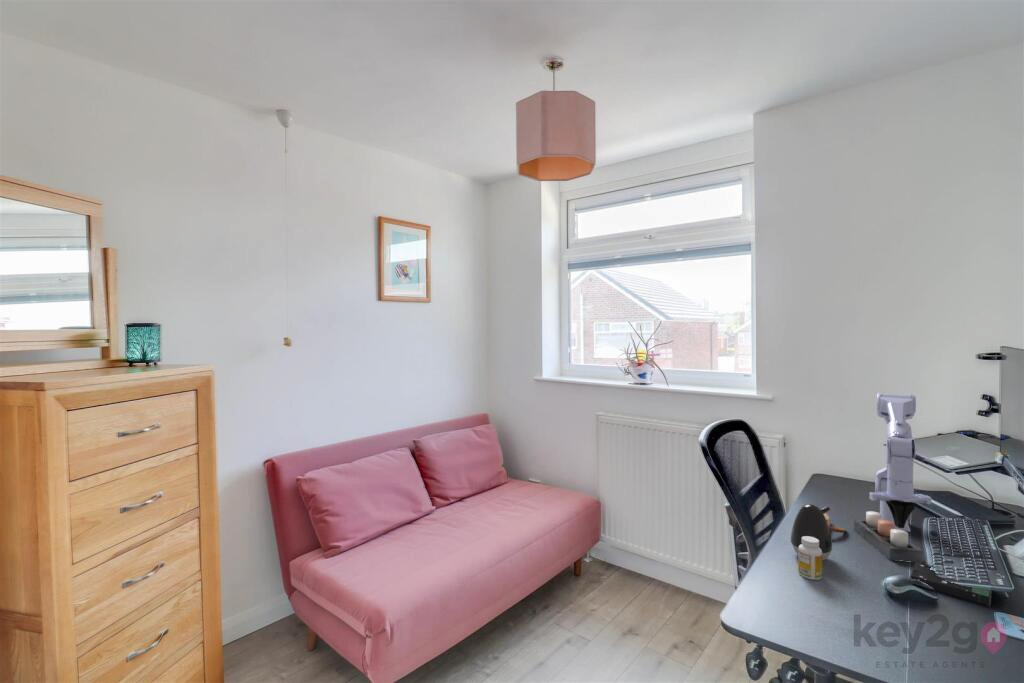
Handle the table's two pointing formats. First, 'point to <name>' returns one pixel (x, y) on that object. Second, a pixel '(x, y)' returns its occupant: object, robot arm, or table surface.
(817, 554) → the supplement bottle
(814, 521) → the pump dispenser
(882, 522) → the brown egg
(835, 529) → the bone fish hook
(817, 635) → the table surface
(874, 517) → the knob
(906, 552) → the panel
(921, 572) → the disk drive
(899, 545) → the knob
